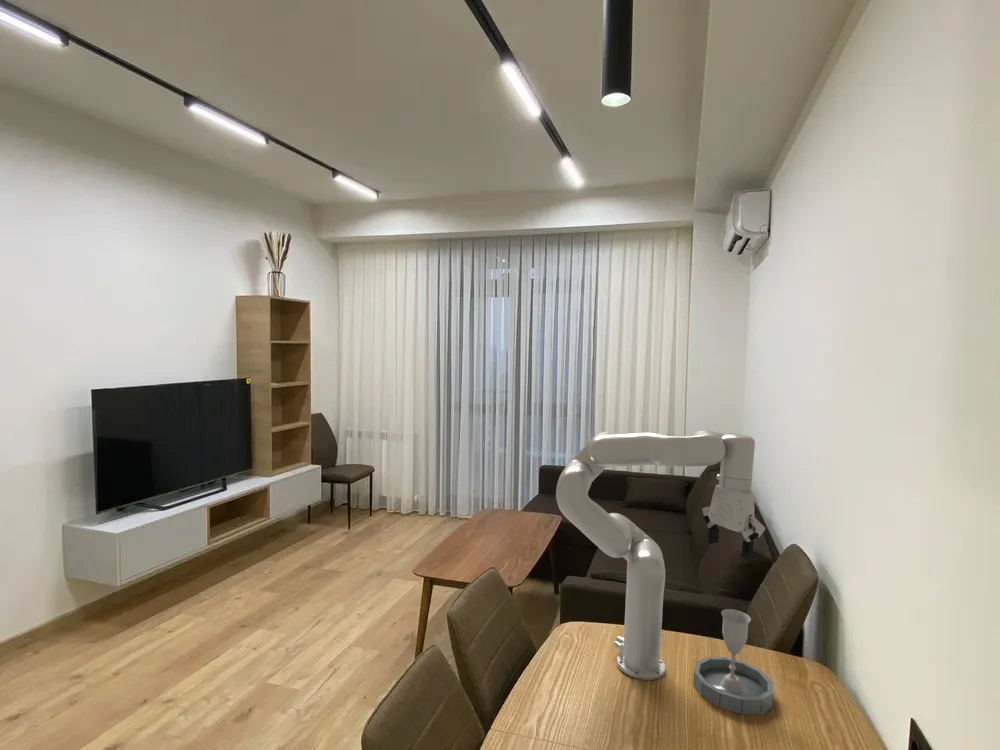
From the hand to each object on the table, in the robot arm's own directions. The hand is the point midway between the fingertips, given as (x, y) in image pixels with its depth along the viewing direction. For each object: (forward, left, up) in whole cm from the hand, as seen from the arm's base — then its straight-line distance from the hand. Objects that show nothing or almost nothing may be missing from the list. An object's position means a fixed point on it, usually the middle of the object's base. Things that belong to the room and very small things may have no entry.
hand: (729, 549), depth 139 cm
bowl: (+4, -2, -34) cm, 35 cm away
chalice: (+4, -2, -34) cm, 34 cm away
